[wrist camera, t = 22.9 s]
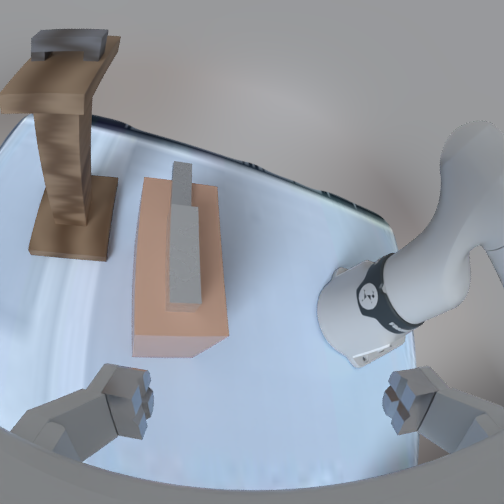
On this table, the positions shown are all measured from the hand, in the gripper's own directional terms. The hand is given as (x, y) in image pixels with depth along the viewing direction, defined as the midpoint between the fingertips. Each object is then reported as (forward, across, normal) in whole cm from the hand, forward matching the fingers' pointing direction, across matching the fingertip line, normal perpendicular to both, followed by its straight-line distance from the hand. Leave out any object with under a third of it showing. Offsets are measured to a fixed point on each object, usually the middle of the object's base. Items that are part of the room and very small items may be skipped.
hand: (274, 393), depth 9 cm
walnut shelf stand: (+32, +27, -2) cm, 41 cm away
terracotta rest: (+29, +12, +9) cm, 33 cm away
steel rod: (+20, +7, -2) cm, 21 cm away
